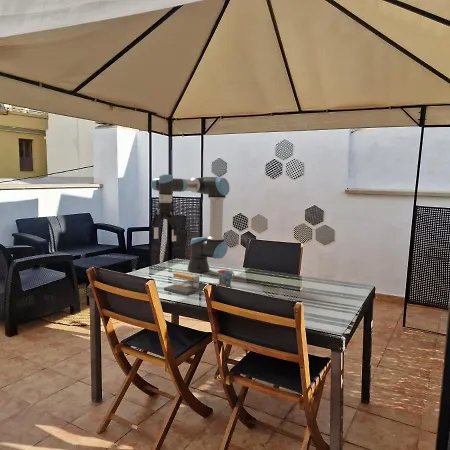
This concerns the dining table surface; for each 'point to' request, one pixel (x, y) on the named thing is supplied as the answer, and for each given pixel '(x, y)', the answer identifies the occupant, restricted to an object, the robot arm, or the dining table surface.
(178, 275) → the cable arm
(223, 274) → the mug
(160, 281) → the dining table surface
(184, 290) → the server panel
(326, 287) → the dining table surface
